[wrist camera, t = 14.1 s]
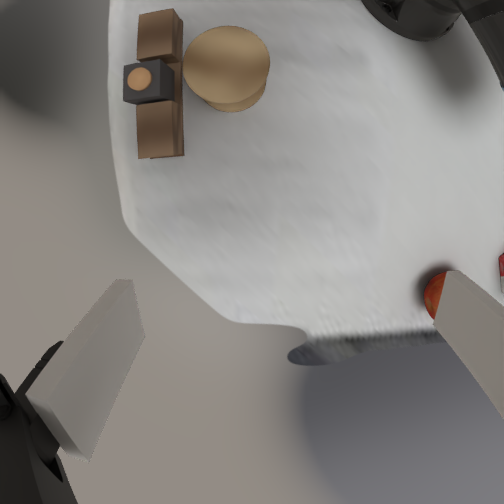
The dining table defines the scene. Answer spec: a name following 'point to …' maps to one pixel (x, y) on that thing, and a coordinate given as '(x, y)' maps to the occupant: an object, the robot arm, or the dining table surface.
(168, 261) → the dining table surface
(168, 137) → the brown wooden u-shaped block
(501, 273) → the ink box
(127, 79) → the dark grey rectangular block
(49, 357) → the robot arm
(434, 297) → the apple
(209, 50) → the wooden spool
